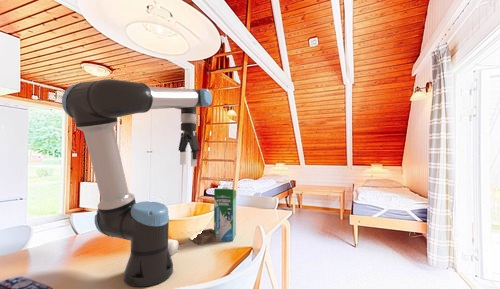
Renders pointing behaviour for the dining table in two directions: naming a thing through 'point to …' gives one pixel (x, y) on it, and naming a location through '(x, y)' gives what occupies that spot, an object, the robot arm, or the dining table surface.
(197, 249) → the dining table surface
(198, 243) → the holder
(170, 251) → the paper roll
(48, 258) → the dining table surface
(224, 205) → the milk carton
